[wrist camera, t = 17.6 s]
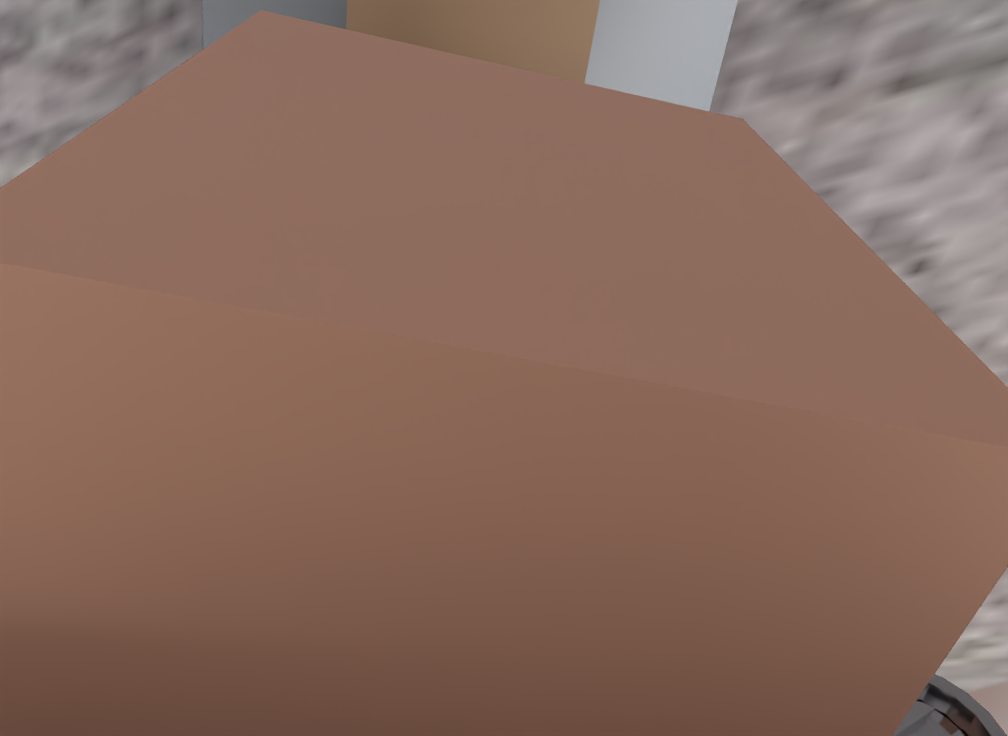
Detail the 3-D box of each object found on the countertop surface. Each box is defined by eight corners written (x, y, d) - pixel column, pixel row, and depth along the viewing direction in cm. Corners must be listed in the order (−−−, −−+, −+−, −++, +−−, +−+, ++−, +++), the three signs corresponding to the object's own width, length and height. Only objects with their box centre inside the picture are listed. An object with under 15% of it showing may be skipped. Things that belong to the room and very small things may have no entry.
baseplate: (208, -231, 21) (195, -234, 20) (761, -135, 22) (772, -134, 22) (218, 288, 28) (210, 302, 27) (640, 339, 29) (645, 354, 29)
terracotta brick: (261, 9, 9) (-86, 248, 3) (743, 119, 9) (1078, 460, 4) (212, 644, 13) (30, 1170, 8) (539, 688, 14) (573, 1201, 8)
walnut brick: (382, -83, 22) (350, -65, 17) (577, -52, 22) (605, -24, 17) (359, 246, 26) (329, 341, 21) (522, 267, 27) (531, 365, 22)
